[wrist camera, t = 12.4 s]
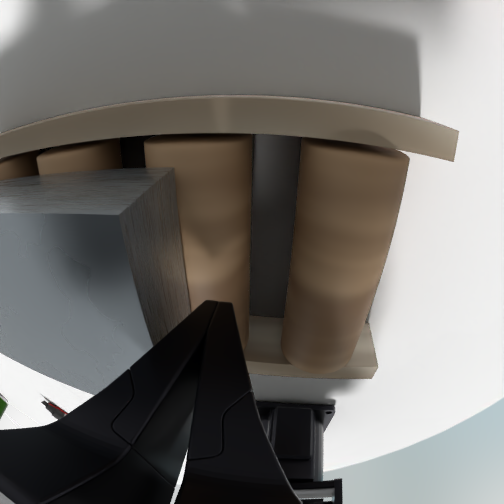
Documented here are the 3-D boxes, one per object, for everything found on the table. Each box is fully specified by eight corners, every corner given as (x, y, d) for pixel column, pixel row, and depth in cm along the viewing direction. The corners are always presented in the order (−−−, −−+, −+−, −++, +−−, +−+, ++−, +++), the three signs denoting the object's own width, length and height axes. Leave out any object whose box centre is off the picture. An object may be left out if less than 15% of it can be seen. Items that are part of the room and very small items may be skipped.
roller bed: (363, 335, 15) (373, 389, 12) (47, 293, 17) (19, 328, 14) (420, 117, 9) (469, 135, 6) (0, 133, 11) (-46, 154, 8)
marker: (124, 447, 36) (121, 456, 35) (119, 447, 37) (116, 456, 35) (45, 395, 31) (40, 405, 29) (43, 396, 32) (37, 406, 30)
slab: (198, 358, 12) (180, 419, 9) (14, 311, 13) (-13, 345, 10) (174, 167, 8) (118, 214, 5) (-35, 186, 9) (-76, 215, 6)
